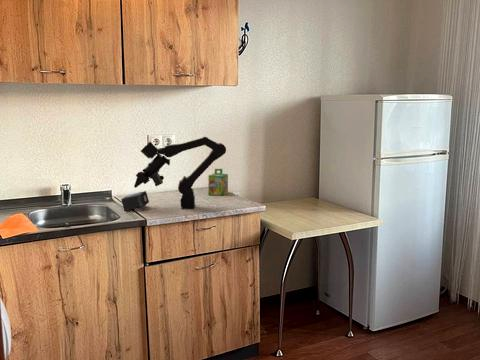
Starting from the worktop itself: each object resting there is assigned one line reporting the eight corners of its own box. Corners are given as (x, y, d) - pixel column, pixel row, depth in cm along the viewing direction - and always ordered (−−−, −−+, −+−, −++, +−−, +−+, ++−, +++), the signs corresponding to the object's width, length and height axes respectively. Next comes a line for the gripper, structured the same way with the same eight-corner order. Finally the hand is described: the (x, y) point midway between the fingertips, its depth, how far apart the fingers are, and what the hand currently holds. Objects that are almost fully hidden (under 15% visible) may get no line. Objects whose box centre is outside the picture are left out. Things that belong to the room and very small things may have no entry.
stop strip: (145, 206, 241) (145, 203, 241) (139, 211, 230) (139, 209, 229) (140, 206, 241) (140, 203, 241) (134, 211, 230) (134, 209, 229)
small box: (140, 194, 229) (120, 198, 230) (144, 206, 230) (124, 211, 231) (145, 190, 239) (126, 194, 240) (149, 202, 240) (129, 206, 241)
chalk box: (208, 195, 267) (207, 169, 264) (213, 192, 276) (213, 167, 273) (223, 196, 264) (223, 170, 262) (228, 193, 273) (228, 168, 270)
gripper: (164, 179, 223) (142, 202, 225) (171, 173, 241) (150, 194, 244) (146, 163, 222) (125, 186, 224) (155, 158, 240) (135, 179, 243)
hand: (134, 187), depth 234 cm, fingers closed
